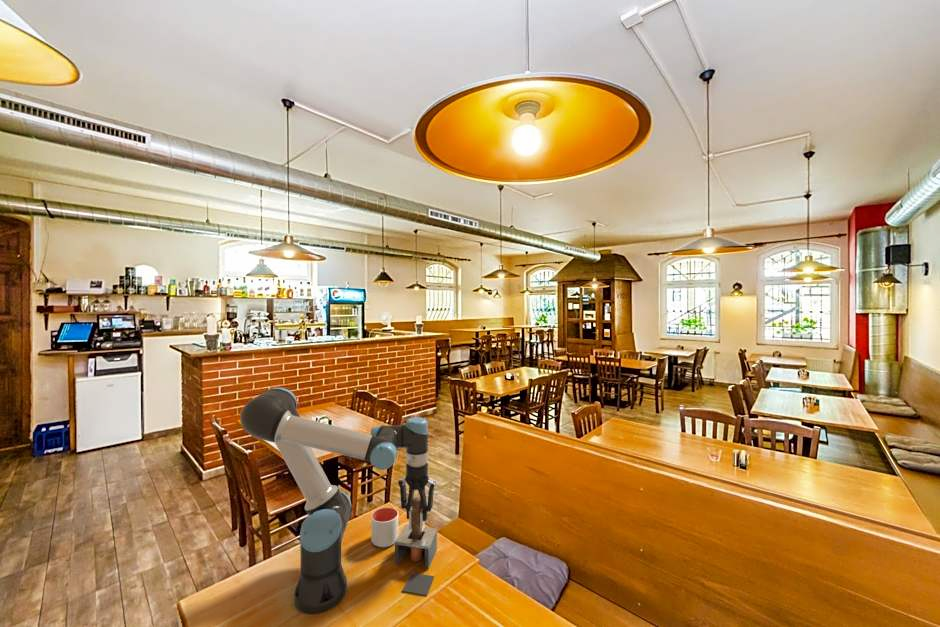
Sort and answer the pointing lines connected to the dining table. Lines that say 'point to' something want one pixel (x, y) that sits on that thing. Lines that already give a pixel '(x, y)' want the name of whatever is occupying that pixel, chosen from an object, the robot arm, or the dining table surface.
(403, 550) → the grey box with hole
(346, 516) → the robot arm
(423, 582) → the coaster
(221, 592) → the dining table surface
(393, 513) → the cup
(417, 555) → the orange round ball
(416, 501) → the rod
